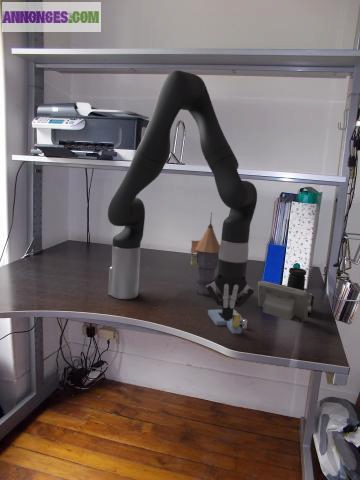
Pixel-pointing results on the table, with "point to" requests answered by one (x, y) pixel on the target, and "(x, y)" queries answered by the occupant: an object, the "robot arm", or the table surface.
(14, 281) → the table surface
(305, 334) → the table surface
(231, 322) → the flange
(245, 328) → the dowel
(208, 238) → the model tower
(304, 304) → the digital clock
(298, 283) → the scope
